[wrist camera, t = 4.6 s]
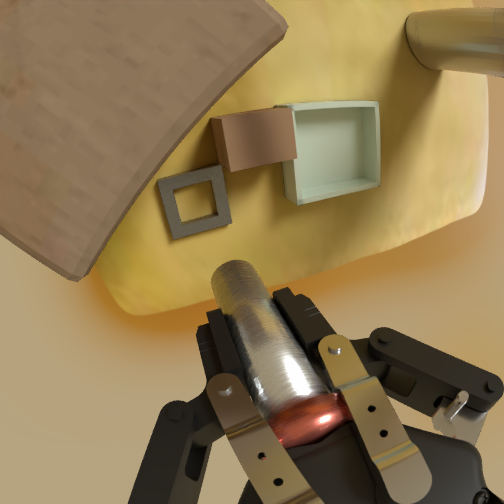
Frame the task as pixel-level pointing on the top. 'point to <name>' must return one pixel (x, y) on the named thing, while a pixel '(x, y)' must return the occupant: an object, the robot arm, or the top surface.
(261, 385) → the pin
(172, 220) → the pin socket
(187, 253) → the top surface
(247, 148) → the block
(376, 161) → the tray
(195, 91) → the wooden block
